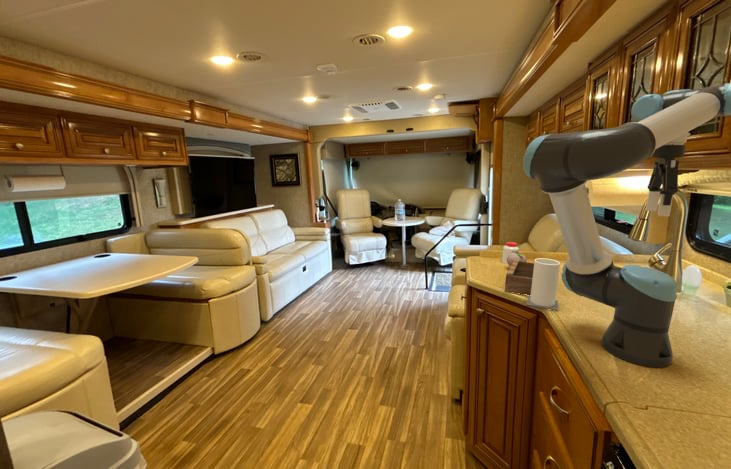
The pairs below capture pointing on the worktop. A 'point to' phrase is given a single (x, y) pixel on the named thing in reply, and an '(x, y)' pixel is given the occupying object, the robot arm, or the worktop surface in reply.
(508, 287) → the crate
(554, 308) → the panel
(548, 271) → the cup
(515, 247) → the pill bottle
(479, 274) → the worktop surface
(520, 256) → the decorative fruit
